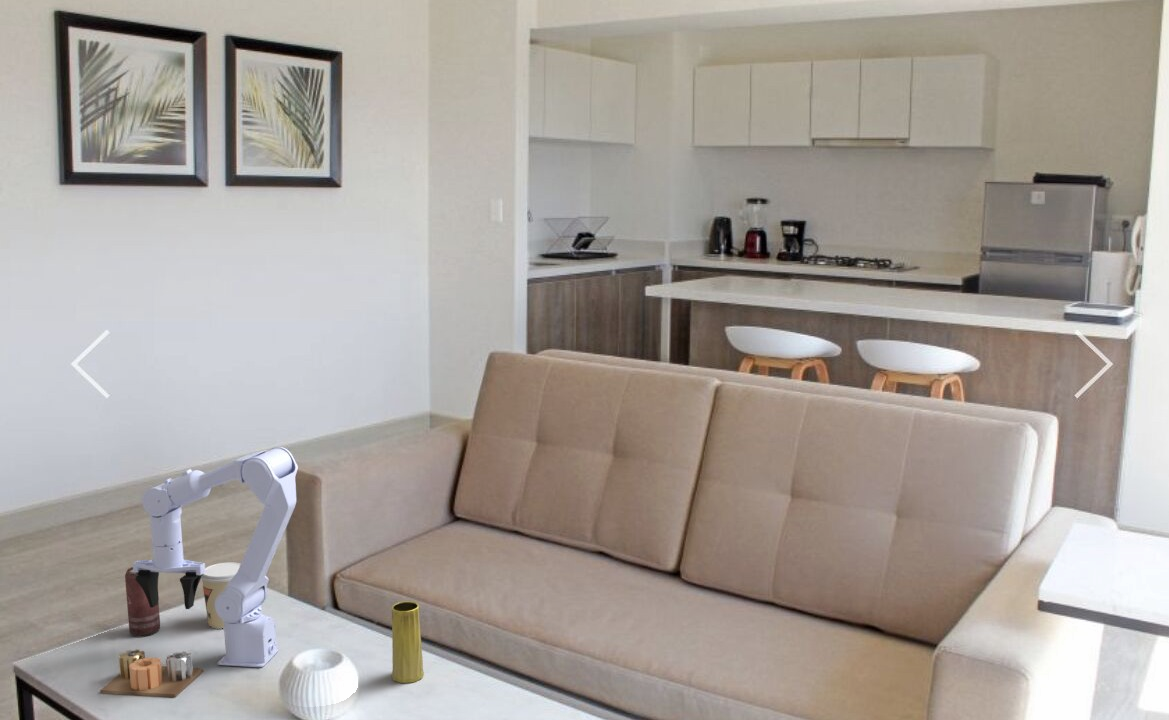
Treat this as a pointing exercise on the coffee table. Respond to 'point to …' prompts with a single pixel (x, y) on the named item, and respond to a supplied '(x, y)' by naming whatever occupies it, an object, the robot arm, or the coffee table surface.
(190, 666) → the gear
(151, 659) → the idler gear
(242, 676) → the coffee table surface
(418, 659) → the vase
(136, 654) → the gear
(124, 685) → the gear board
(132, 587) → the can
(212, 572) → the coffee cup
